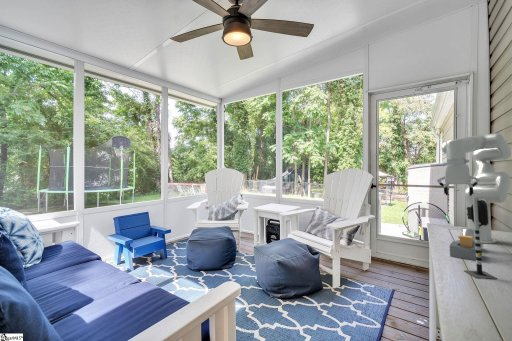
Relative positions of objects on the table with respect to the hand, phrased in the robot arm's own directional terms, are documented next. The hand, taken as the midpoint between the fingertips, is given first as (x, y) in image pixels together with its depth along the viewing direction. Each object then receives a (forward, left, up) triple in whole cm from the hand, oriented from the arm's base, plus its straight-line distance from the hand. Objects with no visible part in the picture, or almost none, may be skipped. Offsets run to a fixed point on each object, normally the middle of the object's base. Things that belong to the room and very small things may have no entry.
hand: (458, 195), depth 126 cm
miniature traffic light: (+38, +9, -28) cm, 48 cm away
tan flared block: (+13, +3, -28) cm, 31 cm away
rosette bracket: (+6, +3, -28) cm, 28 cm away
